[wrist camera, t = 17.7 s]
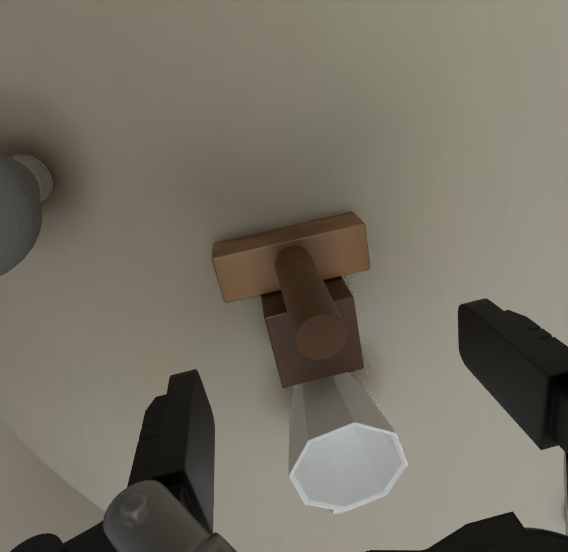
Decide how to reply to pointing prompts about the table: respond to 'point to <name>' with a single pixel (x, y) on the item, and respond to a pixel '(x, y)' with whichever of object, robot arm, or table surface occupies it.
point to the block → (286, 353)
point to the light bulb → (20, 206)
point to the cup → (341, 445)
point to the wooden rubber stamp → (297, 275)
